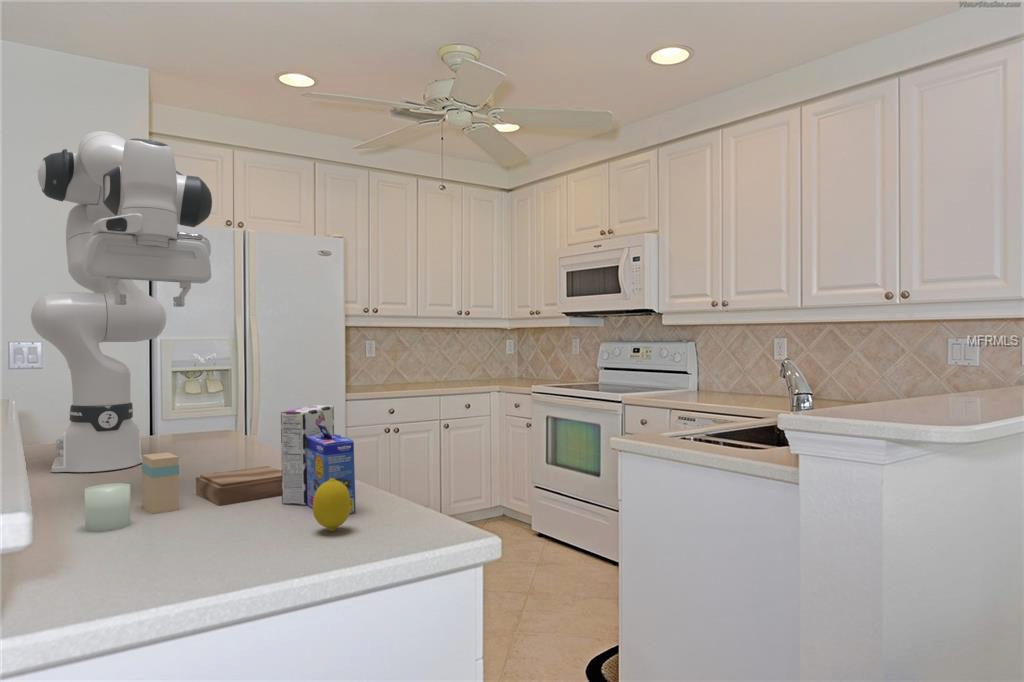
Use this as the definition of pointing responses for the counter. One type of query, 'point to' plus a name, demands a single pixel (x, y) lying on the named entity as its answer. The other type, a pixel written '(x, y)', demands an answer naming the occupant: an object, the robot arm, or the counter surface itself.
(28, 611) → the counter surface
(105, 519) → the pale green candle
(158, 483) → the carton
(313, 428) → the candy bar box
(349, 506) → the lemon
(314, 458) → the ink cartridge box
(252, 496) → the podium
